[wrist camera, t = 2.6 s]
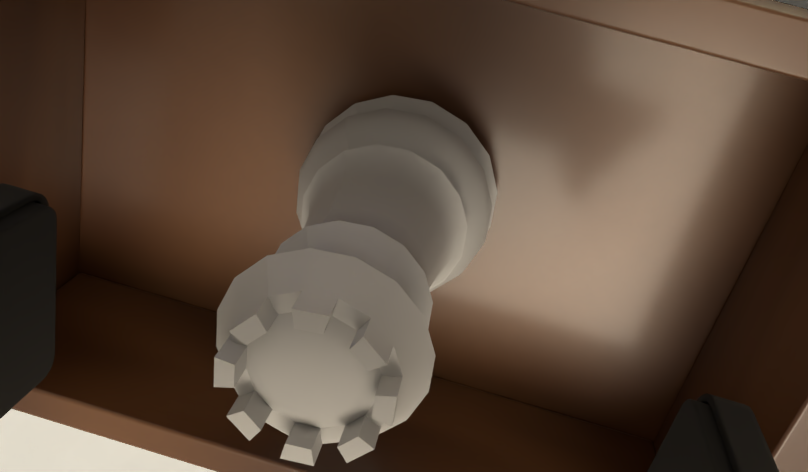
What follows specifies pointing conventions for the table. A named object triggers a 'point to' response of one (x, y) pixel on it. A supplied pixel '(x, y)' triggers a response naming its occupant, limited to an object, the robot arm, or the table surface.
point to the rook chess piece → (356, 279)
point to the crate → (506, 238)
